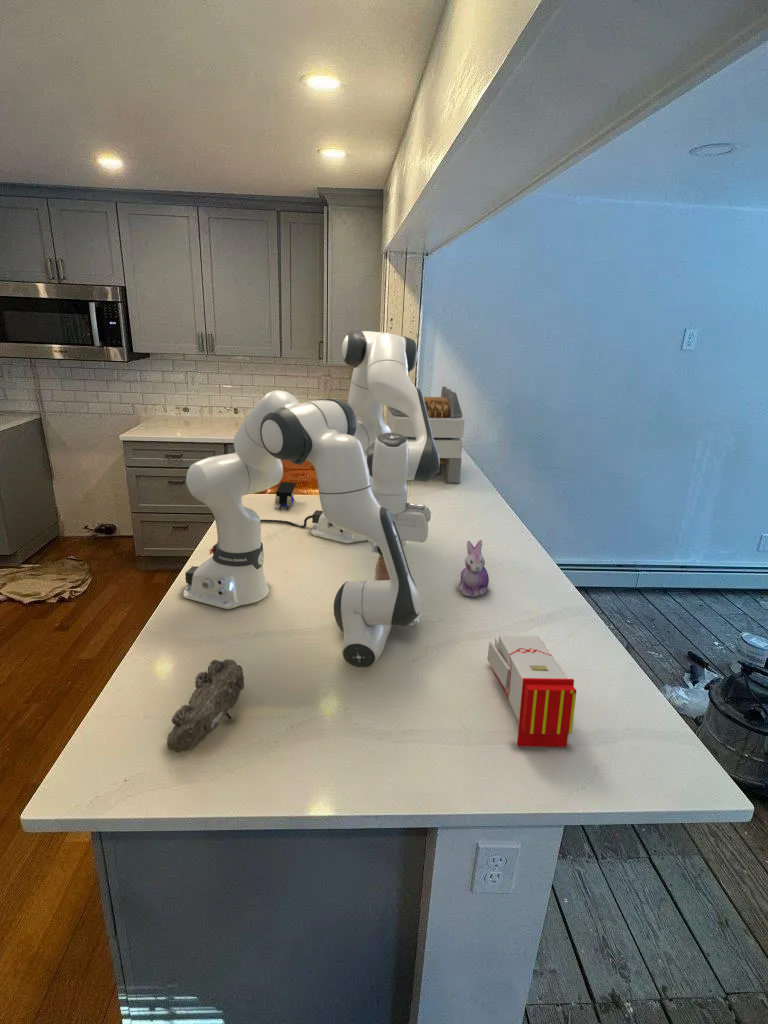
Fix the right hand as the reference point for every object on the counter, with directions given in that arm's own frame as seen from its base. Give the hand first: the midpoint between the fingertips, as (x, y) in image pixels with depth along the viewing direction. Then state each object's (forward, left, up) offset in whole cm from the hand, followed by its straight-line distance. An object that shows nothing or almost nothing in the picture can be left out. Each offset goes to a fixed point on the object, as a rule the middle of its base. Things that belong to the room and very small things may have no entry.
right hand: (386, 553), depth 142 cm
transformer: (-20, +134, -17) cm, 137 cm away
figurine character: (-59, +67, -17) cm, 91 cm away
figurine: (+21, +21, -17) cm, 34 cm away
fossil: (-20, -49, -17) cm, 56 cm away
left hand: (0, +1, -12) cm, 12 cm away
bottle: (0, 0, -17) cm, 17 cm away
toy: (+37, -24, -17) cm, 47 cm away
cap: (0, 0, +2) cm, 2 cm away
